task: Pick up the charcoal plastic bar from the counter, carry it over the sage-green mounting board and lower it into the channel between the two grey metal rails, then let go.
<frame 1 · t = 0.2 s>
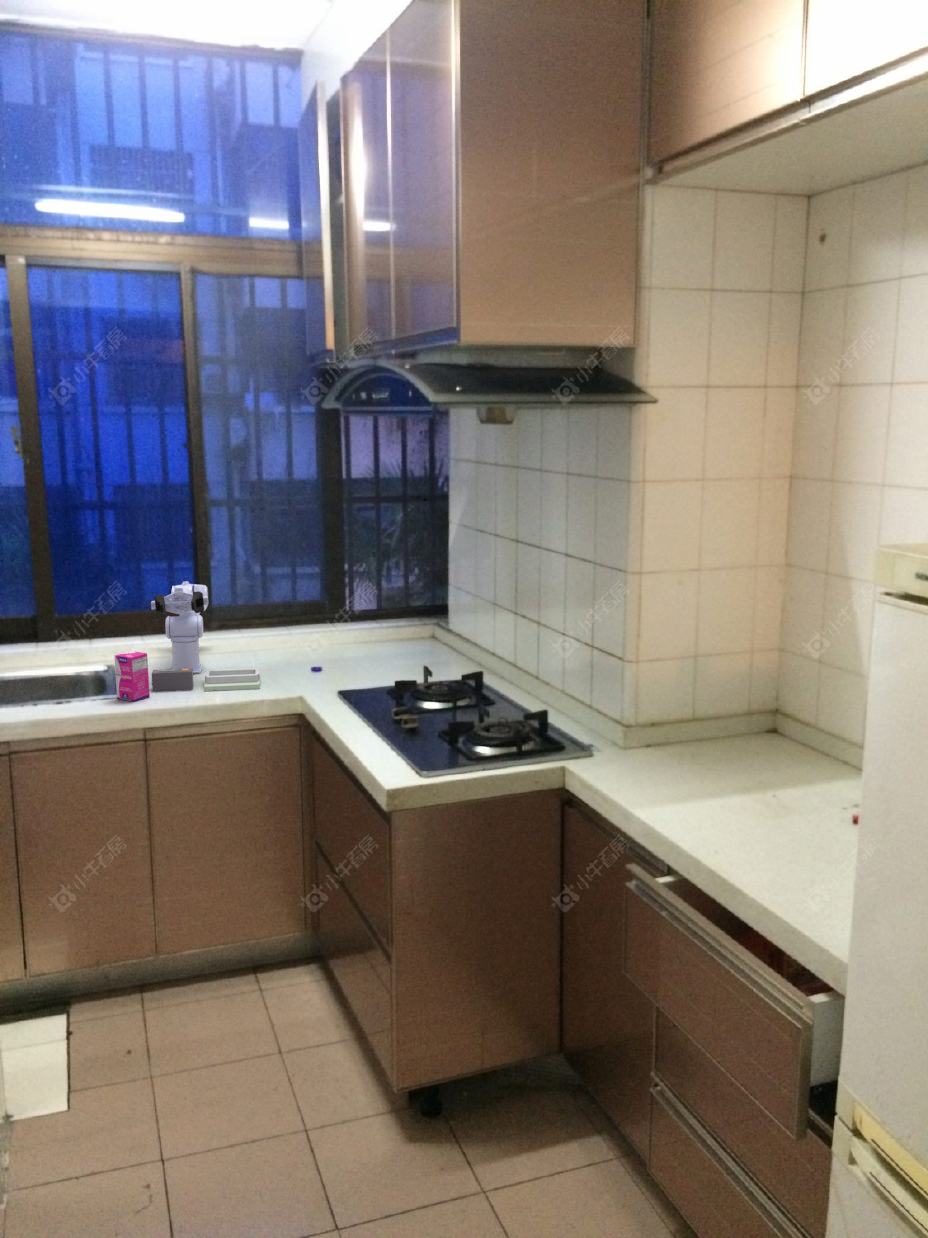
hand: (177, 607, 264), 21 cm above the worktop, tool horizontal, fingers open, 7 cm apart
mounting board: (232, 683, 272), on the worktop
supplement box: (133, 699, 257), on the worktop
charcoal bar: (173, 689, 267), on the worktop
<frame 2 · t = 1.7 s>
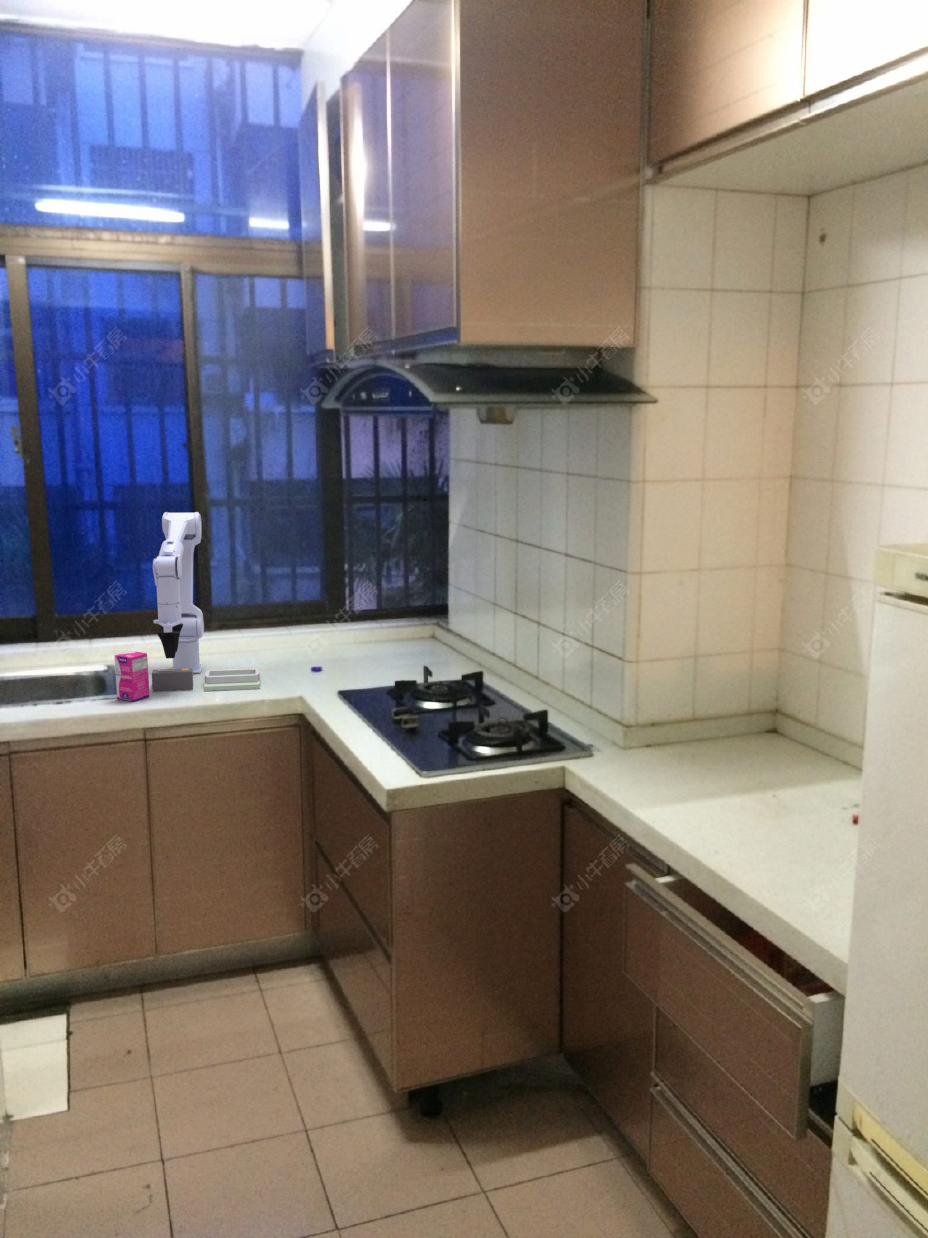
hand: (171, 654, 265), 9 cm above the worktop, tool pointing down, fingers open, 7 cm apart
nothing on the worktop moved.
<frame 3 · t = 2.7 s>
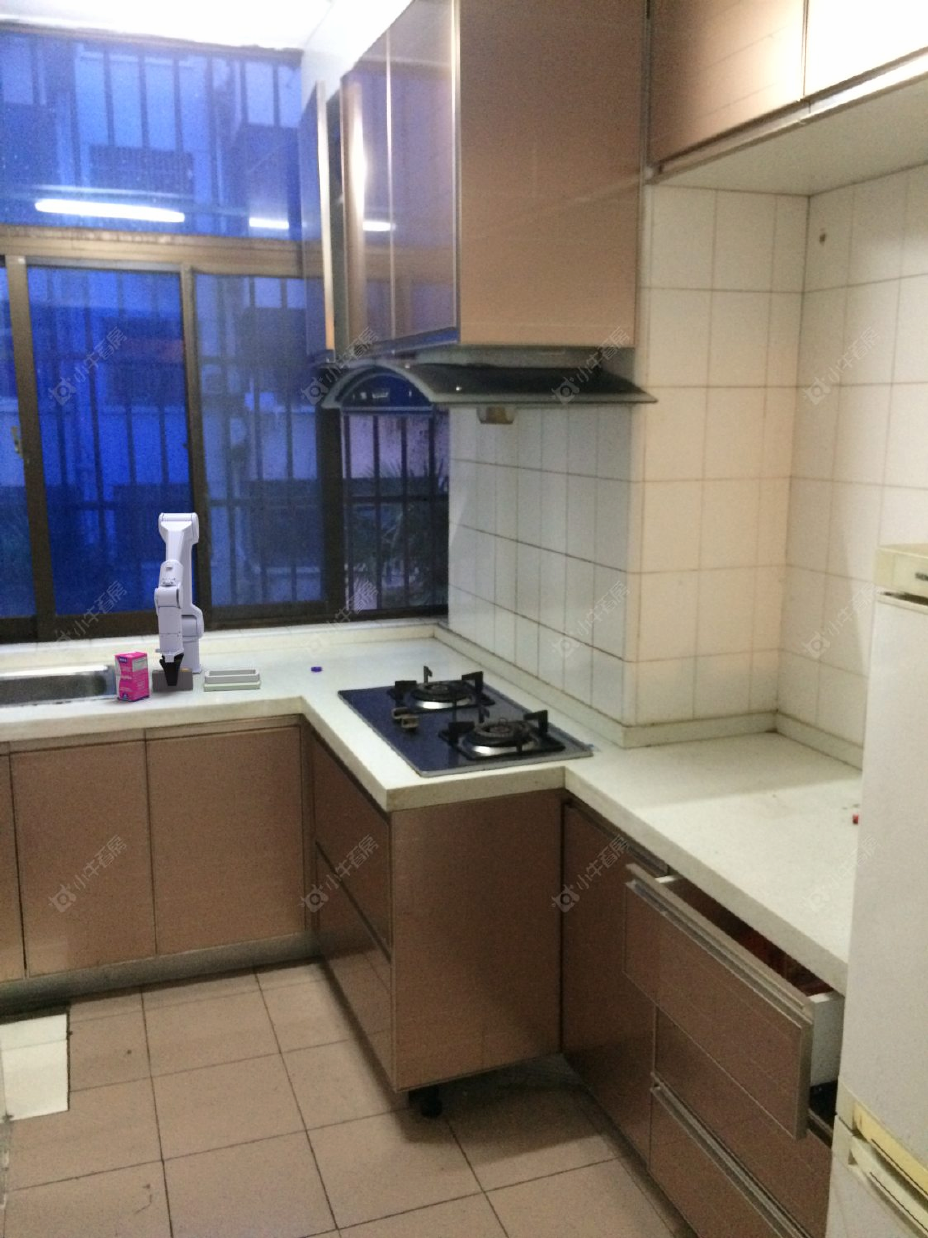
hand: (173, 683, 266), 1 cm above the worktop, tool pointing down, fingers closed on charcoal bar, 4 cm apart
charcoal bar: (173, 689, 267), on the worktop, touching gripper
everything else where it was.
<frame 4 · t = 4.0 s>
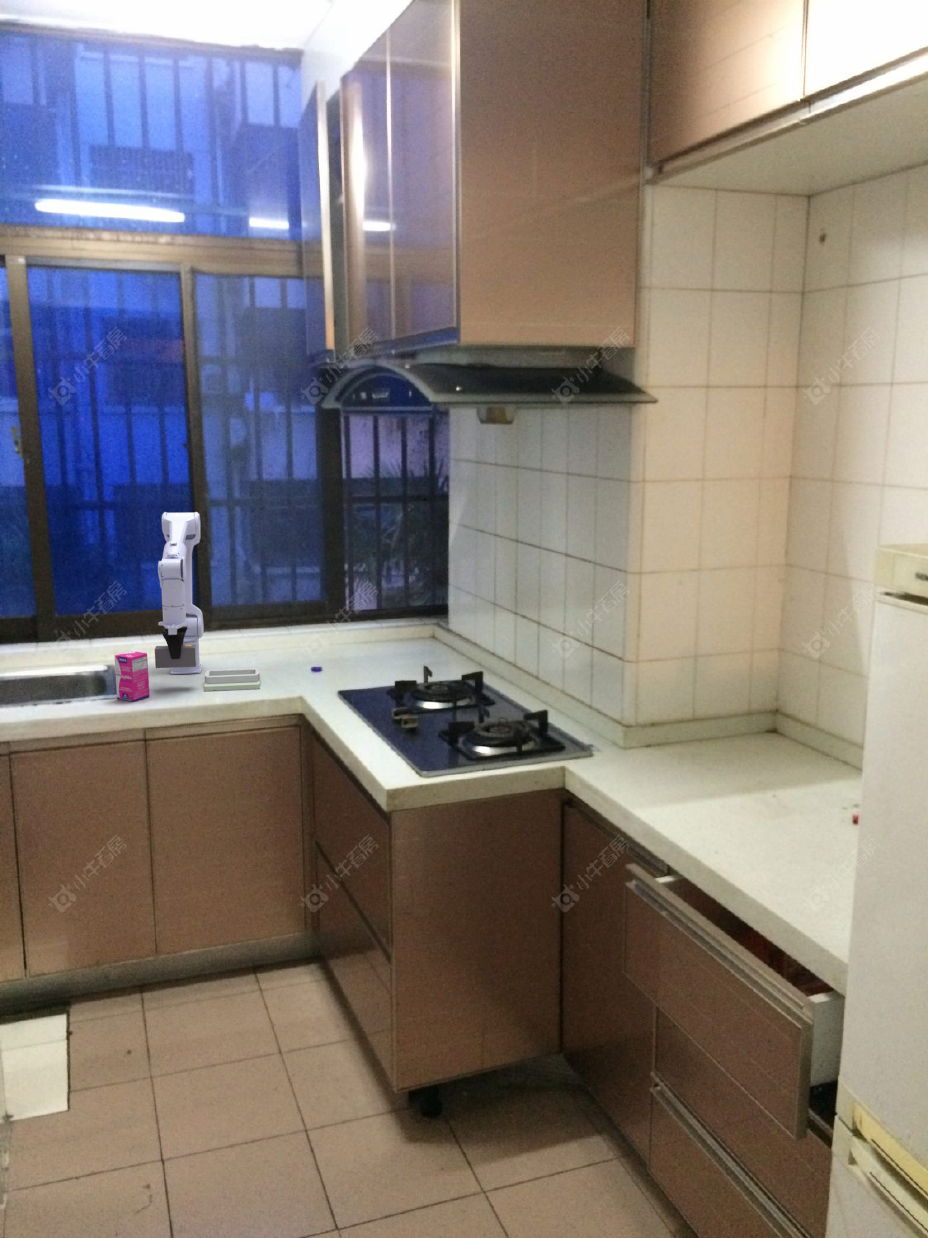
hand: (176, 657, 266), 8 cm above the worktop, tool pointing down, fingers closed on charcoal bar, 4 cm apart
charcoal bar: (176, 665, 266), point 6 cm above the worktop, touching gripper
everything else where it was.
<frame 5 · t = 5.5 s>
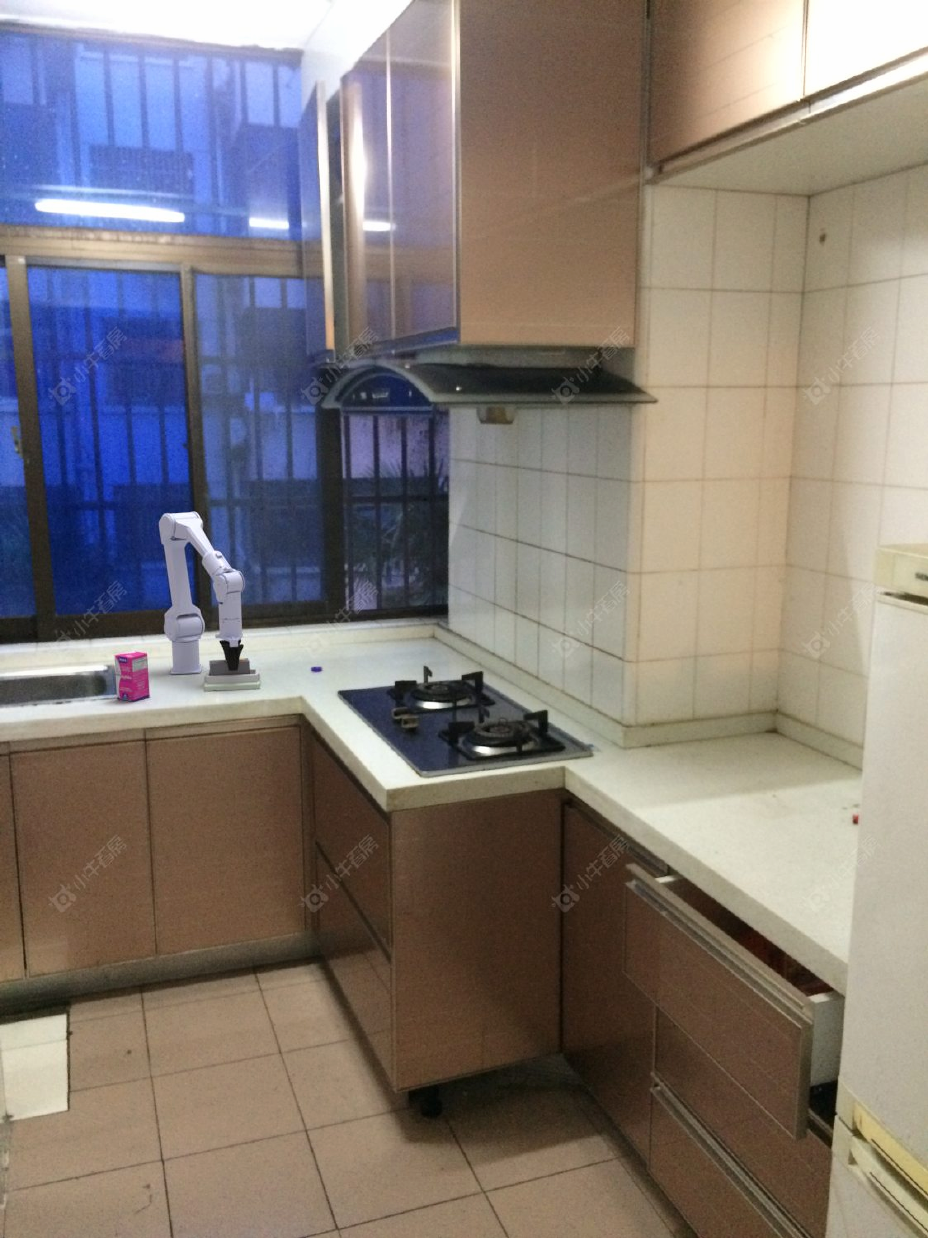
hand: (232, 668, 272), 4 cm above the worktop, tool pointing down, fingers closed on charcoal bar, 4 cm apart
charcoal bar: (230, 679, 272), point 1 cm above the worktop, touching gripper, mounting board
everything else where it was.
when the fingers open (4 cm above the worktop, at t = 5.9 s): charcoal bar stays where it is, resting on mounting board.
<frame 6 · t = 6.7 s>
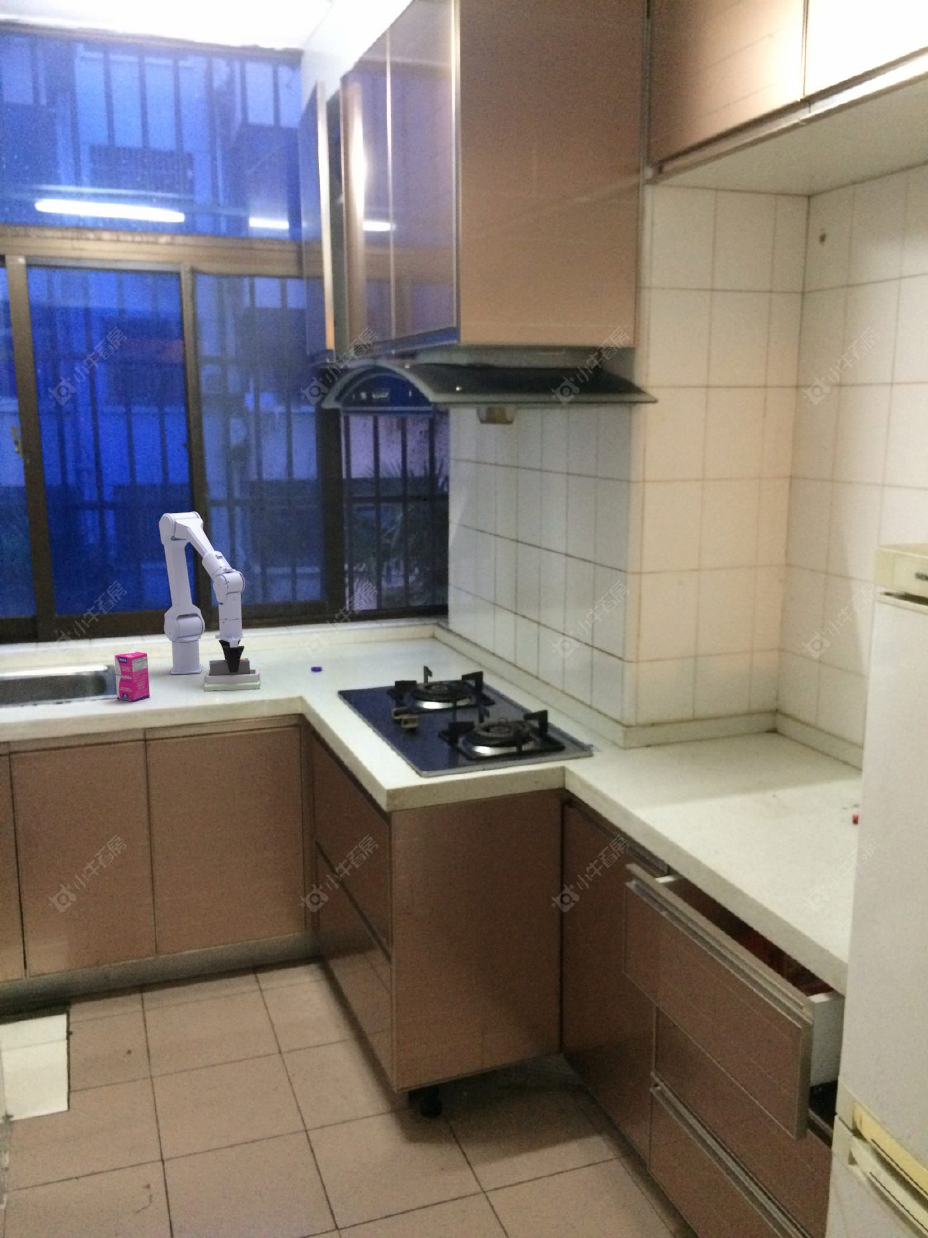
hand: (232, 668, 272), 4 cm above the worktop, tool pointing down, fingers open, 7 cm apart
charcoal bar: (230, 679, 272), point 1 cm above the worktop, touching mounting board
everything else where it was.
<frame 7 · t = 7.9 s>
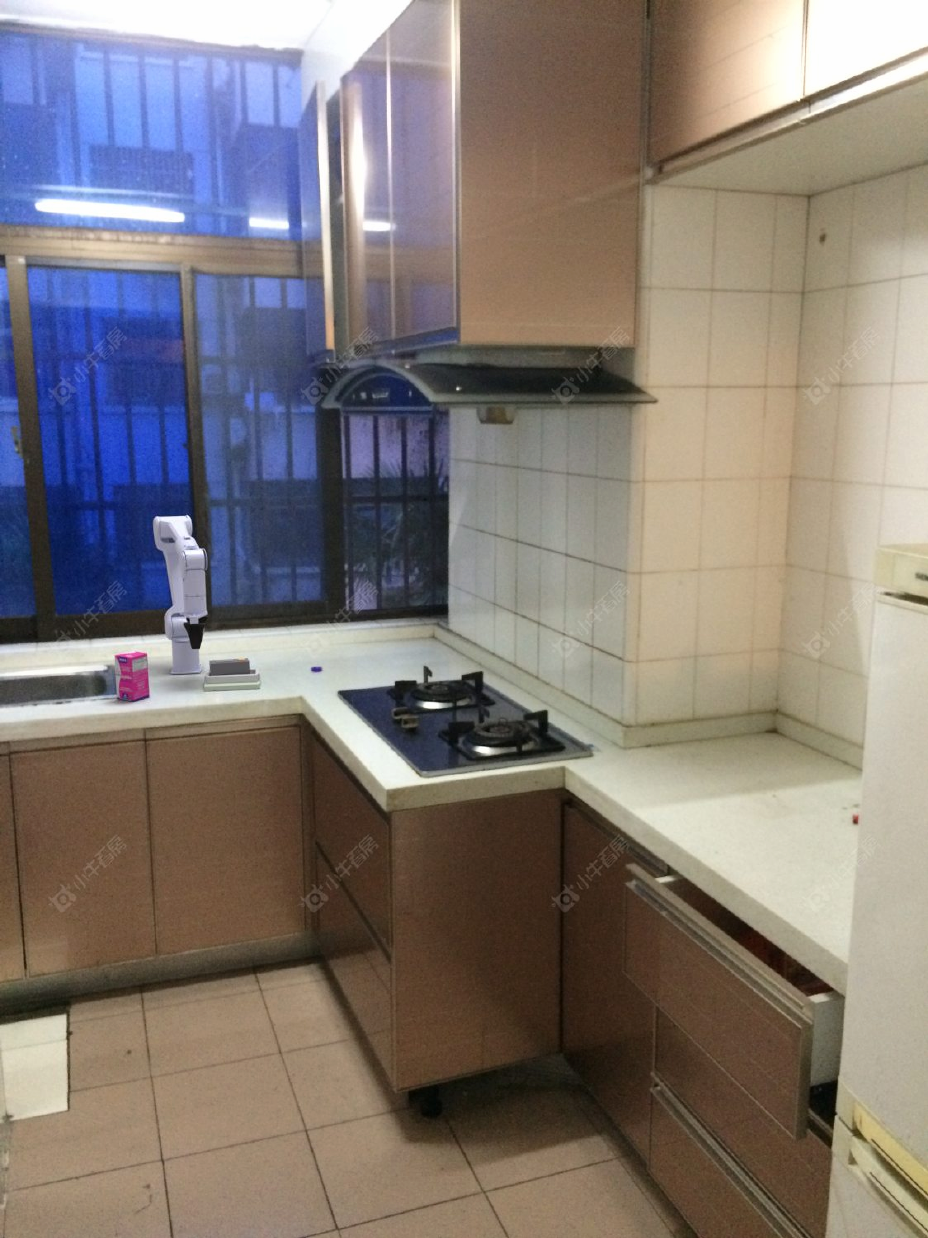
hand: (196, 646, 272), 10 cm above the worktop, tool pointing down, fingers open, 7 cm apart
nothing on the worktop moved.
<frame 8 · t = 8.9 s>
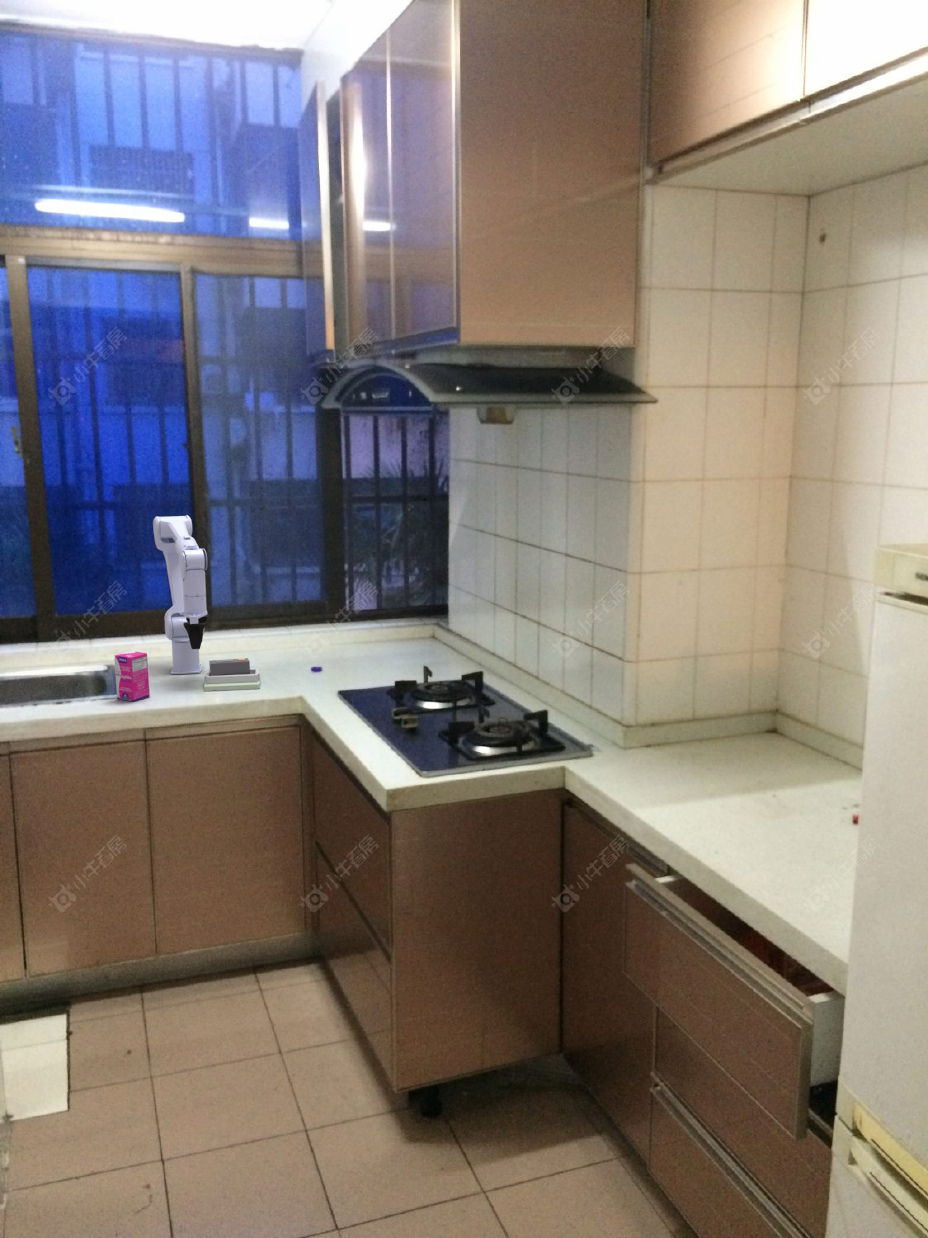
hand: (196, 646, 272), 10 cm above the worktop, tool pointing down, fingers open, 7 cm apart
nothing on the worktop moved.
at the end: charcoal bar 0.7 cm off-centre on the mounting board, point 1.2 cm above the mounting board's base; charcoal bar tilted 0°; the gripper is holding nothing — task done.
